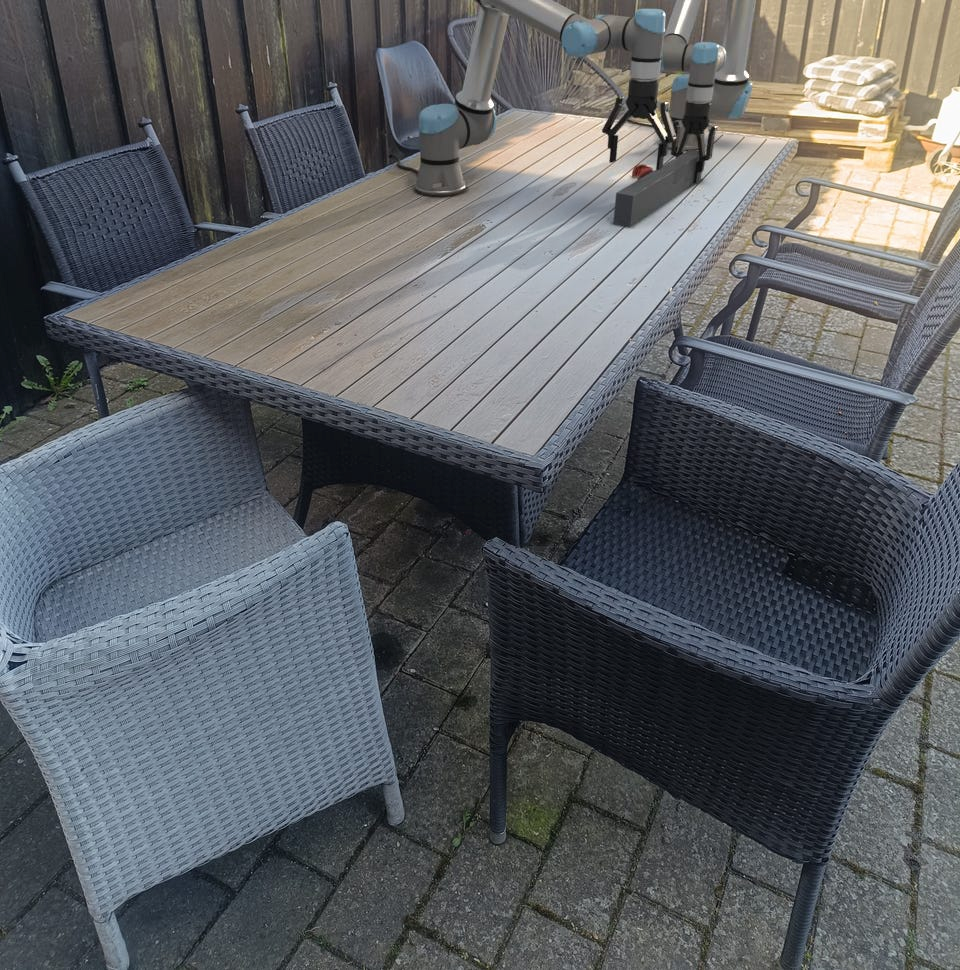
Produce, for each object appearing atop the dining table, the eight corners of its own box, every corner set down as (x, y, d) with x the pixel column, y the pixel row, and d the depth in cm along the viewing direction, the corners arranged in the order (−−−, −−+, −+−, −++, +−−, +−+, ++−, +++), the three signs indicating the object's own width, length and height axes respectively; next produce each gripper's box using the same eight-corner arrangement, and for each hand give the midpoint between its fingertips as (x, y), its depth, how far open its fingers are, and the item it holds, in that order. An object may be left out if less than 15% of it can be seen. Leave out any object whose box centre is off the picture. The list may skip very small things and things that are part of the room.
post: (629, 227, 230) (633, 195, 225) (613, 224, 233) (616, 192, 228) (700, 179, 267) (705, 151, 262) (685, 177, 269) (689, 149, 264)
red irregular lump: (647, 160, 269) (657, 167, 263) (646, 174, 272) (656, 181, 265) (631, 162, 268) (641, 169, 262) (630, 176, 271) (640, 183, 264)
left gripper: (696, 81, 211) (684, 168, 223) (606, 71, 222) (599, 155, 235) (685, 86, 206) (673, 175, 218) (593, 76, 217) (587, 161, 229)
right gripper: (732, 102, 249) (719, 182, 263) (674, 95, 257) (665, 173, 271) (723, 106, 244) (710, 188, 258) (665, 99, 252) (655, 179, 266)
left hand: (635, 165), depth 226 cm, fingers open, 13 cm apart
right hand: (687, 180), depth 264 cm, fingers closed on post, 5 cm apart
